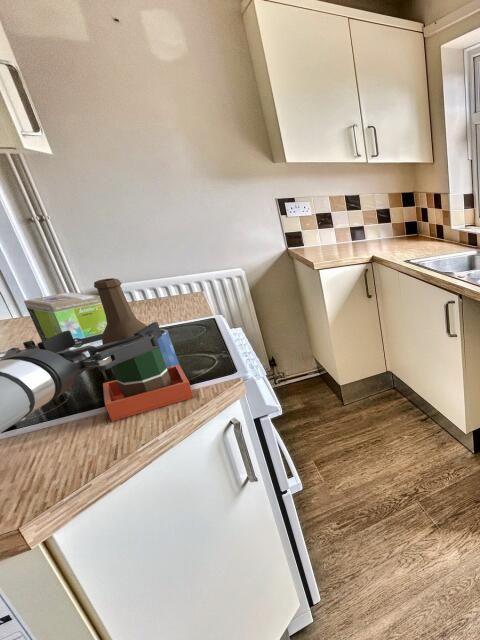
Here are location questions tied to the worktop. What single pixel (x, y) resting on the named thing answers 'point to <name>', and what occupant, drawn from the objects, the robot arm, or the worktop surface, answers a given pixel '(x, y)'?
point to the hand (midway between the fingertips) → (115, 333)
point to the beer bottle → (122, 324)
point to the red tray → (146, 396)
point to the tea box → (69, 317)
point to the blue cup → (167, 349)
